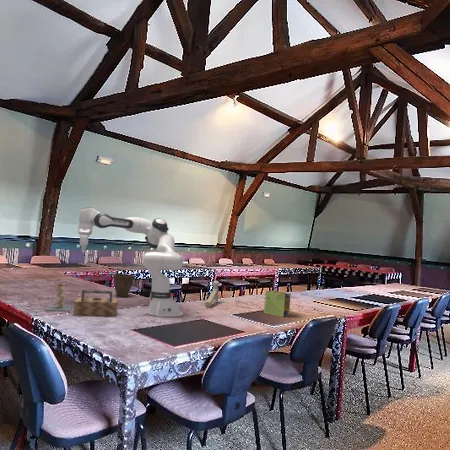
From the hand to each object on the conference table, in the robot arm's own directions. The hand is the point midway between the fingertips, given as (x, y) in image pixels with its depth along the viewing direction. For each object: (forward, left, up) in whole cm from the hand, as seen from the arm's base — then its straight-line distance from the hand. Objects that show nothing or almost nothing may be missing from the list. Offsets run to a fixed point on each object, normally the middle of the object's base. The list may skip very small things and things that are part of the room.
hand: (83, 252), depth 280 cm
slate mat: (+10, +19, -34) cm, 40 cm away
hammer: (-93, -12, -34) cm, 100 cm away
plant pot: (-28, -33, -34) cm, 55 cm away
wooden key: (+10, +19, -34) cm, 40 cm away
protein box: (-134, +15, -34) cm, 139 cm away
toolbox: (-12, +29, -34) cm, 46 cm away
